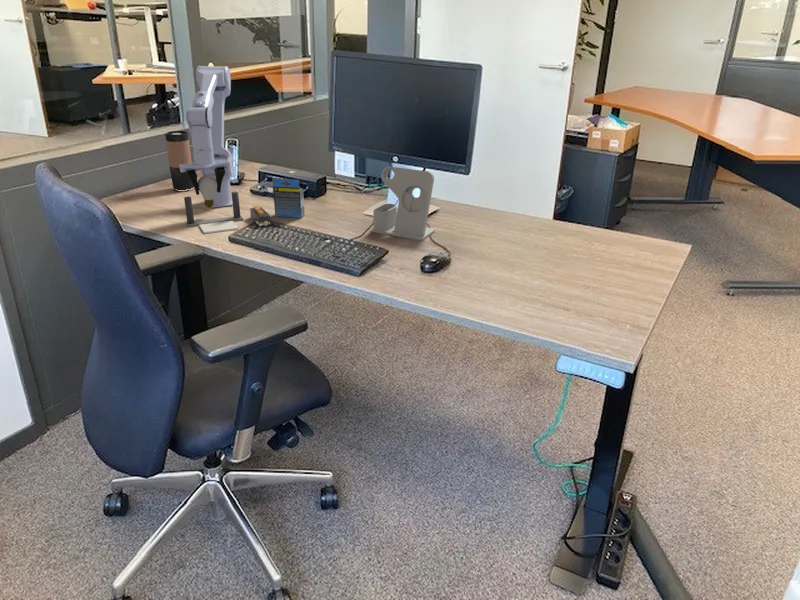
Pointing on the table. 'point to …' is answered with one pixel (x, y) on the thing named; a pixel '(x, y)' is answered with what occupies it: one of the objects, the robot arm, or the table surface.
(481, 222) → the table surface
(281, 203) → the blue retail box
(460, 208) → the table surface
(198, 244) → the table surface
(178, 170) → the travel mug
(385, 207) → the phone holder
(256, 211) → the terminal block
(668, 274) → the table surface
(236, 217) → the cable posts
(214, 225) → the mat
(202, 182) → the light bulb
